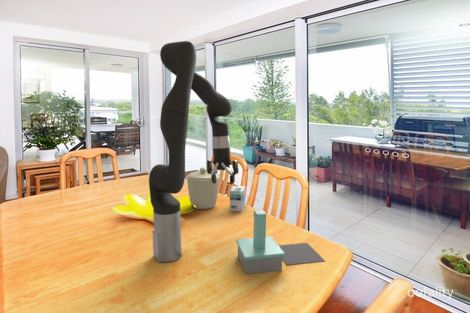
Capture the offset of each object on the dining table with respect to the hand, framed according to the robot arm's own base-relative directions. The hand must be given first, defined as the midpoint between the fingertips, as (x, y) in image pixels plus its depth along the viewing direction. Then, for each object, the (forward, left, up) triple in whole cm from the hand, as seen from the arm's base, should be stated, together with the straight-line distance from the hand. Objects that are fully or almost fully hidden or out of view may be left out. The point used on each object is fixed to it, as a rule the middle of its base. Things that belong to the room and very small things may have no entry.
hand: (223, 183), depth 134 cm
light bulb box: (+18, +17, -20) cm, 32 cm away
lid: (-7, -35, -14) cm, 39 cm away
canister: (+4, +28, -20) cm, 35 cm away
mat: (+9, -37, -20) cm, 43 cm away
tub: (-7, -35, -20) cm, 41 cm away
